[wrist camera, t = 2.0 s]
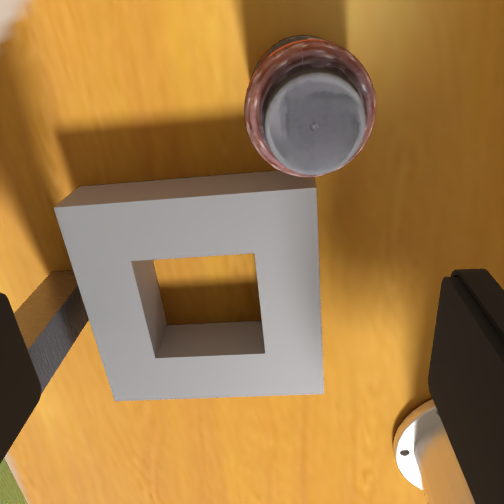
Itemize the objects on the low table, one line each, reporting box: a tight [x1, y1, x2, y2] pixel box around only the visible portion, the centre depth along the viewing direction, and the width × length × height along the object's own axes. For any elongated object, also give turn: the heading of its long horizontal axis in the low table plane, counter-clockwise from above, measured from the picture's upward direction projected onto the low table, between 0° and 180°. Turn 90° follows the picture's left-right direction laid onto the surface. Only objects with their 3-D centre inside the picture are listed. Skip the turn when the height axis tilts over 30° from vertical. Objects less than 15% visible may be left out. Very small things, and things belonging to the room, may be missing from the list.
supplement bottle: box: [244, 35, 376, 177], centre depth 23 cm, size 6×6×11 cm
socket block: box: [54, 170, 324, 401], centre depth 32 cm, size 16×16×4 cm
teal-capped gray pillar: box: [0, 270, 89, 504], centre depth 27 cm, size 6×14×17 cm, turn 6°
